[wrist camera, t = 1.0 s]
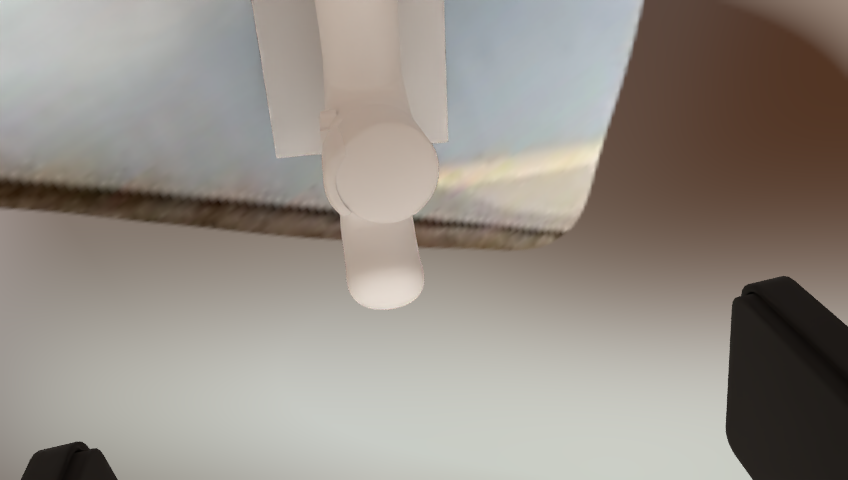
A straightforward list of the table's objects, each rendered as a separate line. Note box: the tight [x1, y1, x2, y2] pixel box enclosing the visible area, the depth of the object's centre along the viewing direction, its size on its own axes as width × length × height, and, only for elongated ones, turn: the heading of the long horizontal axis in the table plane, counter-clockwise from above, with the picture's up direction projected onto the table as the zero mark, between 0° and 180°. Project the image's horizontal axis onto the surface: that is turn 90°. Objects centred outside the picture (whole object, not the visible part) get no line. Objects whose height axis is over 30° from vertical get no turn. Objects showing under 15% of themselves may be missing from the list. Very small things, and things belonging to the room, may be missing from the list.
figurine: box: [251, 0, 448, 310], centre depth 24 cm, size 7×9×15 cm
